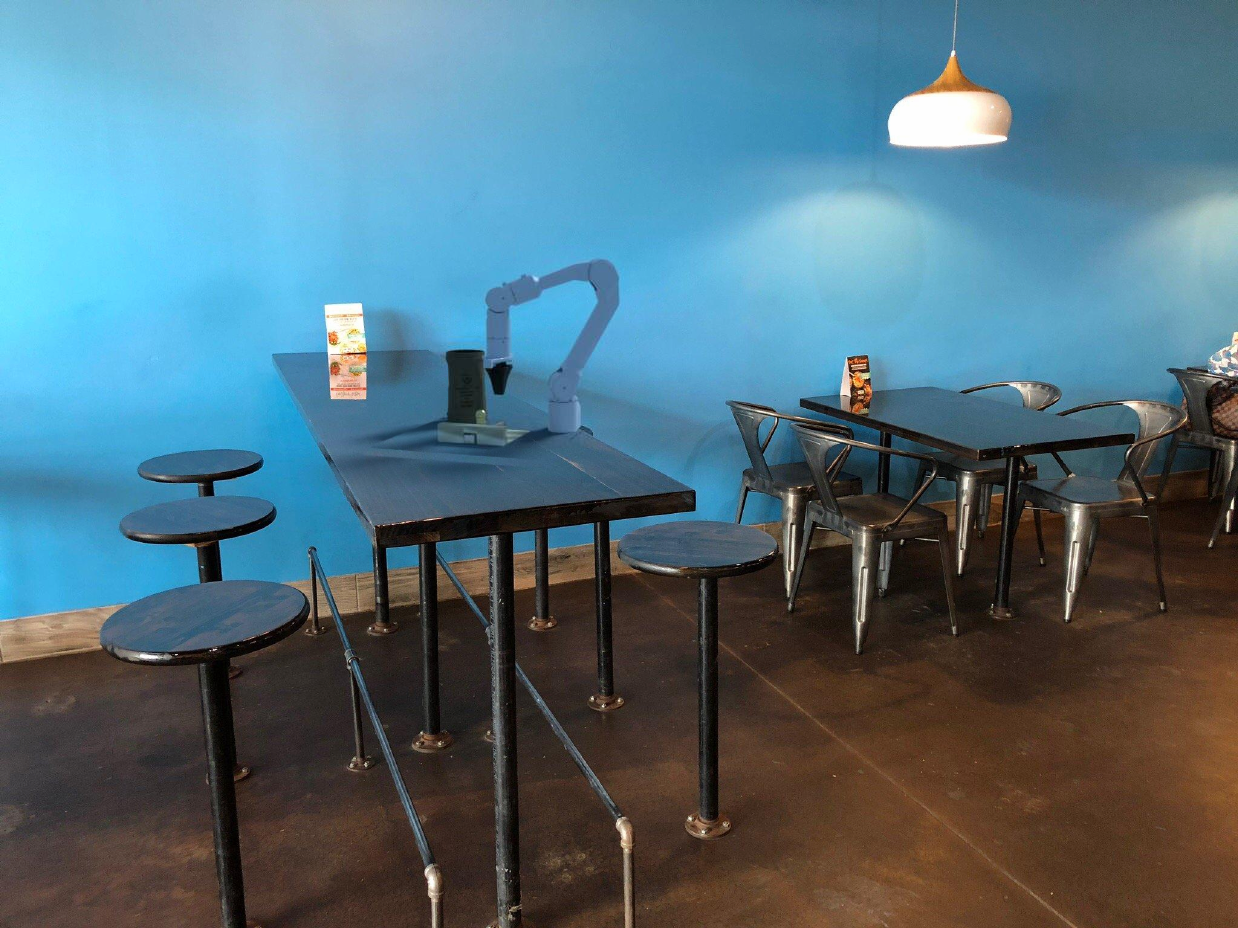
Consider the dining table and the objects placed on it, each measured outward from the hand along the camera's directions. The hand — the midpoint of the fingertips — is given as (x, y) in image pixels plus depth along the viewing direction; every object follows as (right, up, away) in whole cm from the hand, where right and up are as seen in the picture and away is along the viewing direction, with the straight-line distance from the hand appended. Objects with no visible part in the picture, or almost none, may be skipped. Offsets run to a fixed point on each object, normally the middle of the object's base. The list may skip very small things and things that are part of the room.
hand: (499, 394), depth 229 cm
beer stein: (-11, -7, +16) cm, 21 cm away
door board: (-3, -12, -4) cm, 13 cm away
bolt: (-4, -11, -9) cm, 15 cm away
